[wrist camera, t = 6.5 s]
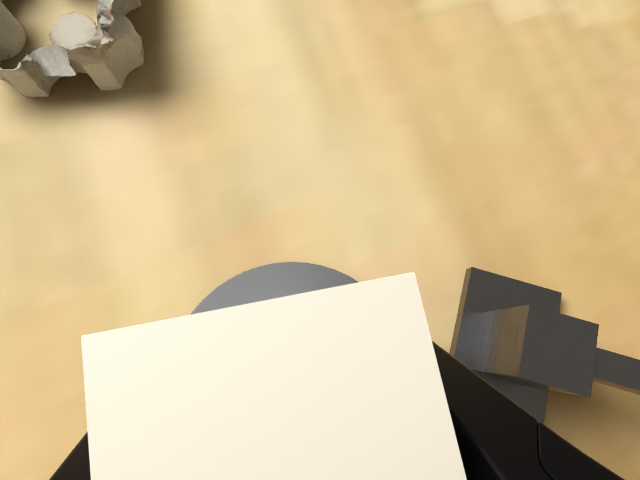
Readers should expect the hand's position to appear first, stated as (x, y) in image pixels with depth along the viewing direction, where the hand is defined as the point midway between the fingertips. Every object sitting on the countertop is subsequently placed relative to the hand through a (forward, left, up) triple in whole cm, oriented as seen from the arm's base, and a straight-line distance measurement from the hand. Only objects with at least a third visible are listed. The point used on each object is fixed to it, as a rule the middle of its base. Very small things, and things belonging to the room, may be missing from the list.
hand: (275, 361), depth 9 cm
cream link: (-1, 0, -7) cm, 7 cm away
